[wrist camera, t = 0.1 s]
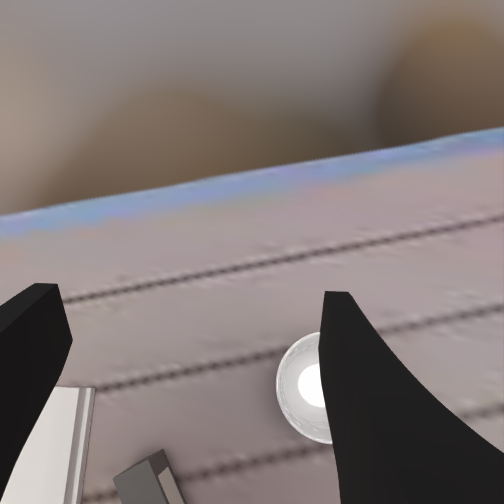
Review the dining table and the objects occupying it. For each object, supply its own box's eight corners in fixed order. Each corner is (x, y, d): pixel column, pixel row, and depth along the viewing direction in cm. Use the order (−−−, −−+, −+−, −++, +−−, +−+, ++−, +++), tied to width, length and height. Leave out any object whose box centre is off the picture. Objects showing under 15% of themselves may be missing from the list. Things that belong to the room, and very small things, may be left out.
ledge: (66, 614, 37) (50, 633, 35) (-41, 608, 38) (-65, 627, 35) (95, 387, 42) (83, 388, 40) (1, 384, 43) (-18, 384, 40)
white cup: (254, 393, 42) (254, 395, 33) (304, 326, 44) (317, 309, 34) (324, 448, 41) (344, 468, 31) (372, 377, 43) (405, 375, 33)
